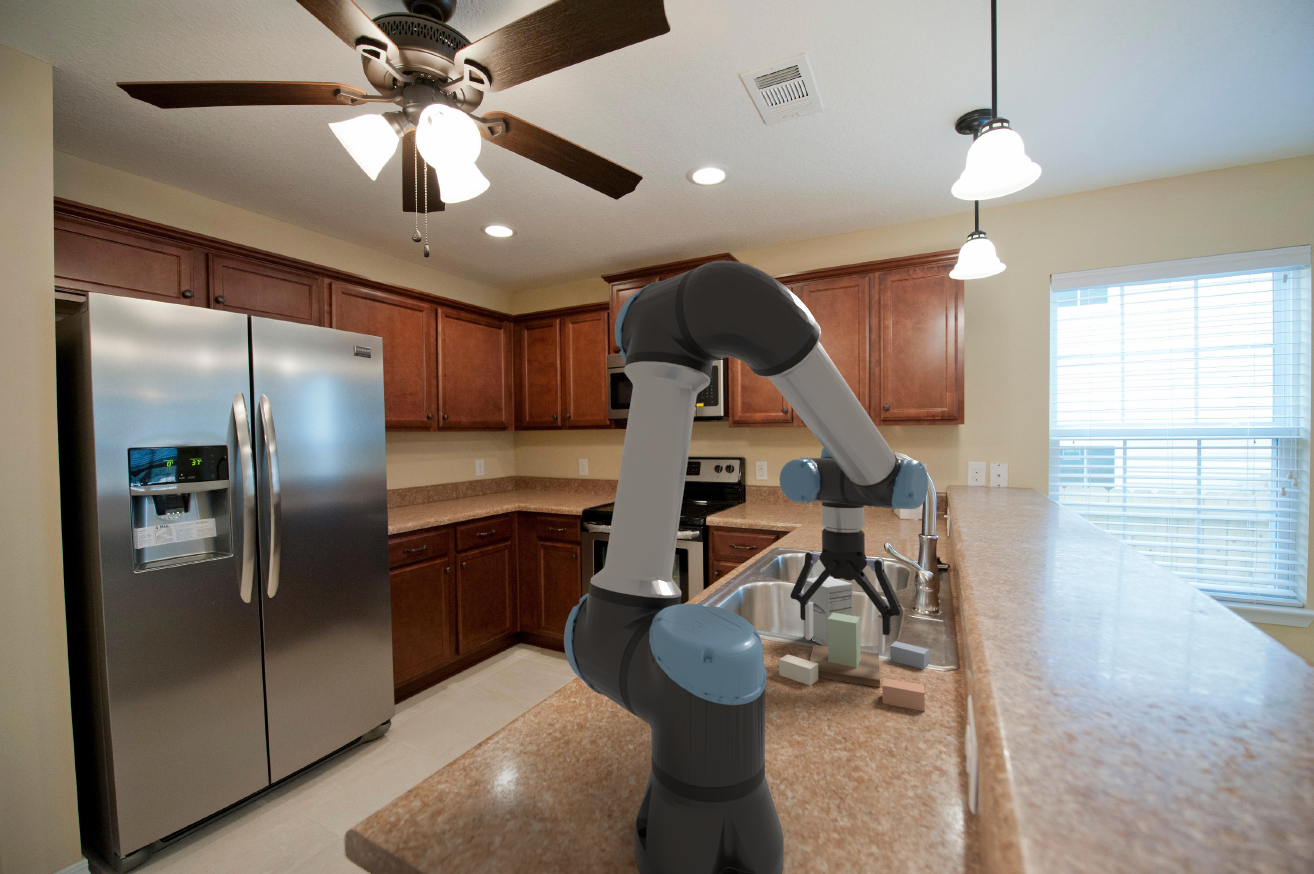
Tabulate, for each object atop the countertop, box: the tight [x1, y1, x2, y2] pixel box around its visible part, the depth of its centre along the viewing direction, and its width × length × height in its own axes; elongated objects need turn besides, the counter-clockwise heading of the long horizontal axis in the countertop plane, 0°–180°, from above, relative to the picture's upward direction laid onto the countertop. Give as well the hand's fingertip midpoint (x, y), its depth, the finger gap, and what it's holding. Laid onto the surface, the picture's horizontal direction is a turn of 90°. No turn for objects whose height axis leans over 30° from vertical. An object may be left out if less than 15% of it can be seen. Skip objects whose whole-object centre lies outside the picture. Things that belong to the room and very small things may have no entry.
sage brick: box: [828, 613, 862, 668], centre depth 95 cm, size 4×5×8 cm
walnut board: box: [809, 644, 881, 688], centre depth 95 cm, size 12×12×1 cm
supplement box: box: [803, 576, 854, 646], centre depth 109 cm, size 7×7×13 cm
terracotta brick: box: [881, 677, 926, 712], centre depth 82 cm, size 6×3×3 cm, turn 64°
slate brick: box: [889, 640, 930, 670], centre depth 97 cm, size 6×3×3 cm, turn 47°
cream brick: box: [778, 653, 819, 686], centre depth 91 cm, size 6×3×3 cm, turn 47°
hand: (844, 644), depth 95 cm, fingers open, 12 cm apart
